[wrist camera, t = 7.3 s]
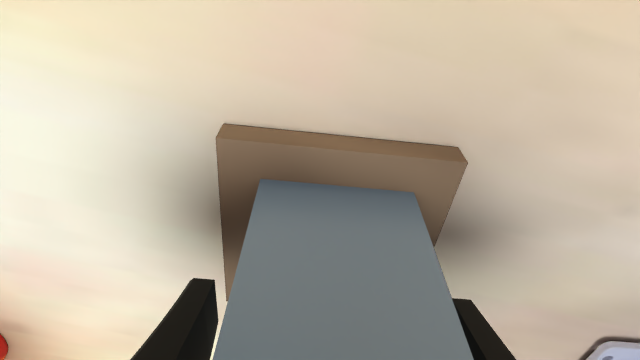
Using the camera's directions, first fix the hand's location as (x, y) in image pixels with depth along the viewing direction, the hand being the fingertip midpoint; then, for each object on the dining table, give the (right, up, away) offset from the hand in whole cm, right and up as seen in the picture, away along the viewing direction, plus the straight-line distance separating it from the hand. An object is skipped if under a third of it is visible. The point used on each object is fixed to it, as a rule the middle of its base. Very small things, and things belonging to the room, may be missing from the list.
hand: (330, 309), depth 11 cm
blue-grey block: (0, +2, +2) cm, 3 cm away
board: (0, +2, +3) cm, 4 cm away
